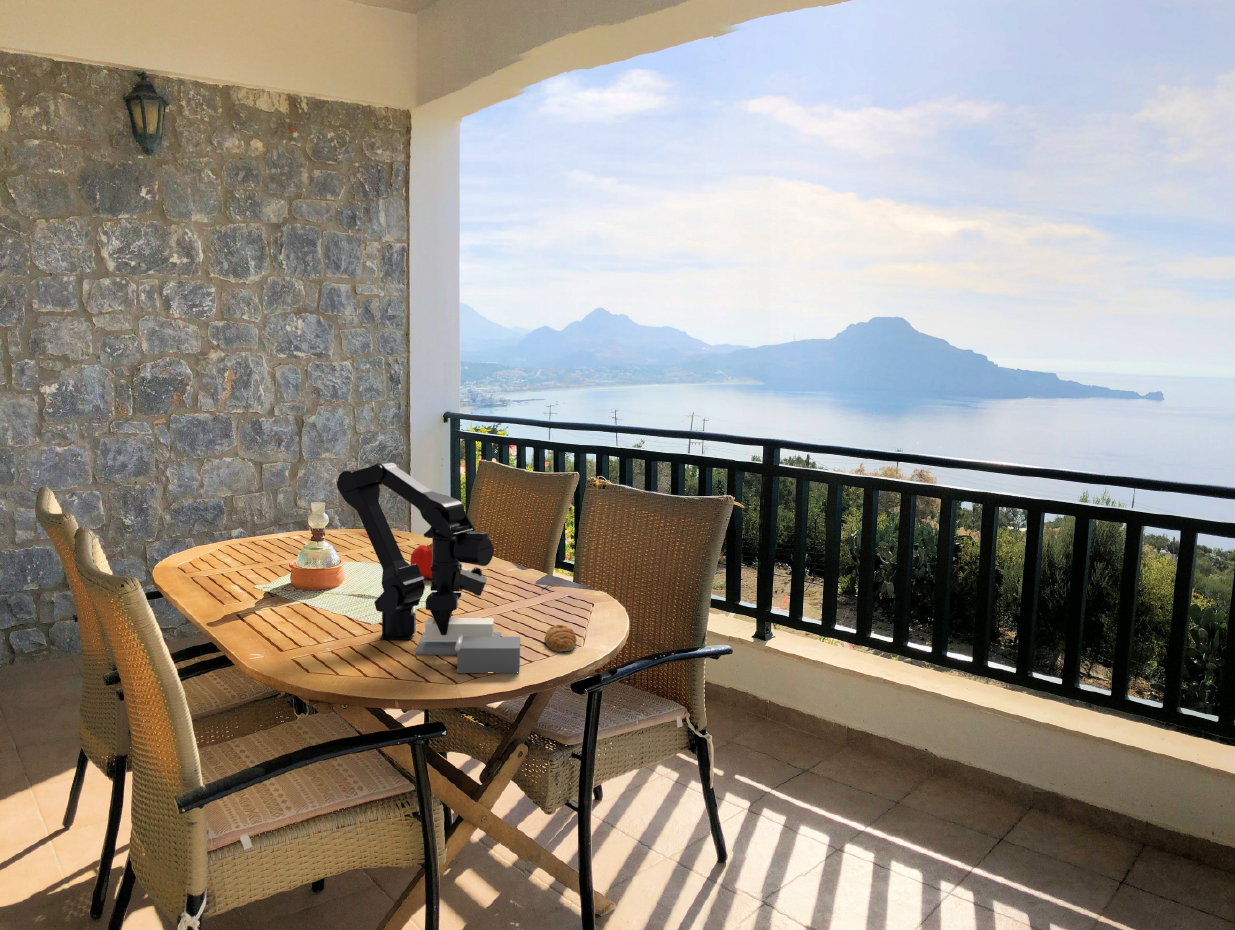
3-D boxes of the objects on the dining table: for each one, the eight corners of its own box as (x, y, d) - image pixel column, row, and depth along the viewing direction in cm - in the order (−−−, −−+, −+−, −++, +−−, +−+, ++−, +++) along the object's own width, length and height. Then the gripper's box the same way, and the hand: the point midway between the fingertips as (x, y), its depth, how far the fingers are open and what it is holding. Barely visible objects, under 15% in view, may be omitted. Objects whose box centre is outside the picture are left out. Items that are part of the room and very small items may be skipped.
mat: (415, 654, 177) (415, 651, 177) (423, 634, 190) (423, 632, 190) (498, 654, 179) (498, 651, 178) (500, 635, 191) (500, 632, 191)
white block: (425, 640, 180) (425, 623, 180) (427, 633, 184) (428, 617, 184) (492, 640, 181) (492, 623, 181) (493, 633, 186) (493, 617, 185)
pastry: (581, 653, 182) (581, 635, 181) (549, 655, 180) (549, 637, 180) (572, 639, 191) (572, 622, 190) (542, 641, 189) (542, 624, 189)
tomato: (444, 583, 235) (444, 550, 234) (402, 580, 237) (403, 547, 236) (457, 574, 245) (458, 543, 244) (417, 571, 247) (417, 540, 246)
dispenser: (454, 673, 167) (454, 646, 166) (458, 660, 174) (458, 633, 173) (519, 673, 168) (519, 646, 167) (519, 660, 175) (520, 633, 175)
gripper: (481, 570, 172) (480, 645, 174) (486, 550, 191) (485, 618, 193) (425, 569, 171) (424, 645, 173) (435, 549, 190) (435, 618, 191)
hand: (445, 631), depth 183 cm, fingers closed on white block, 4 cm apart
